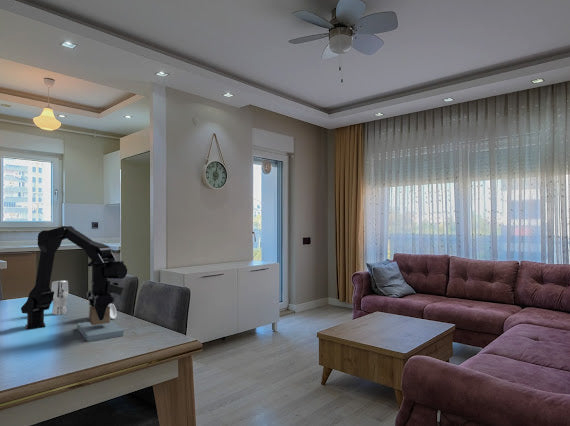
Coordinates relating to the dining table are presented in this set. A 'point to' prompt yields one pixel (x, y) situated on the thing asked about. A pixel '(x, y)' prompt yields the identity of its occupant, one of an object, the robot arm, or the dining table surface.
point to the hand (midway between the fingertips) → (99, 318)
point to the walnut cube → (95, 319)
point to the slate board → (99, 330)
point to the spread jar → (112, 310)
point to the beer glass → (59, 297)
